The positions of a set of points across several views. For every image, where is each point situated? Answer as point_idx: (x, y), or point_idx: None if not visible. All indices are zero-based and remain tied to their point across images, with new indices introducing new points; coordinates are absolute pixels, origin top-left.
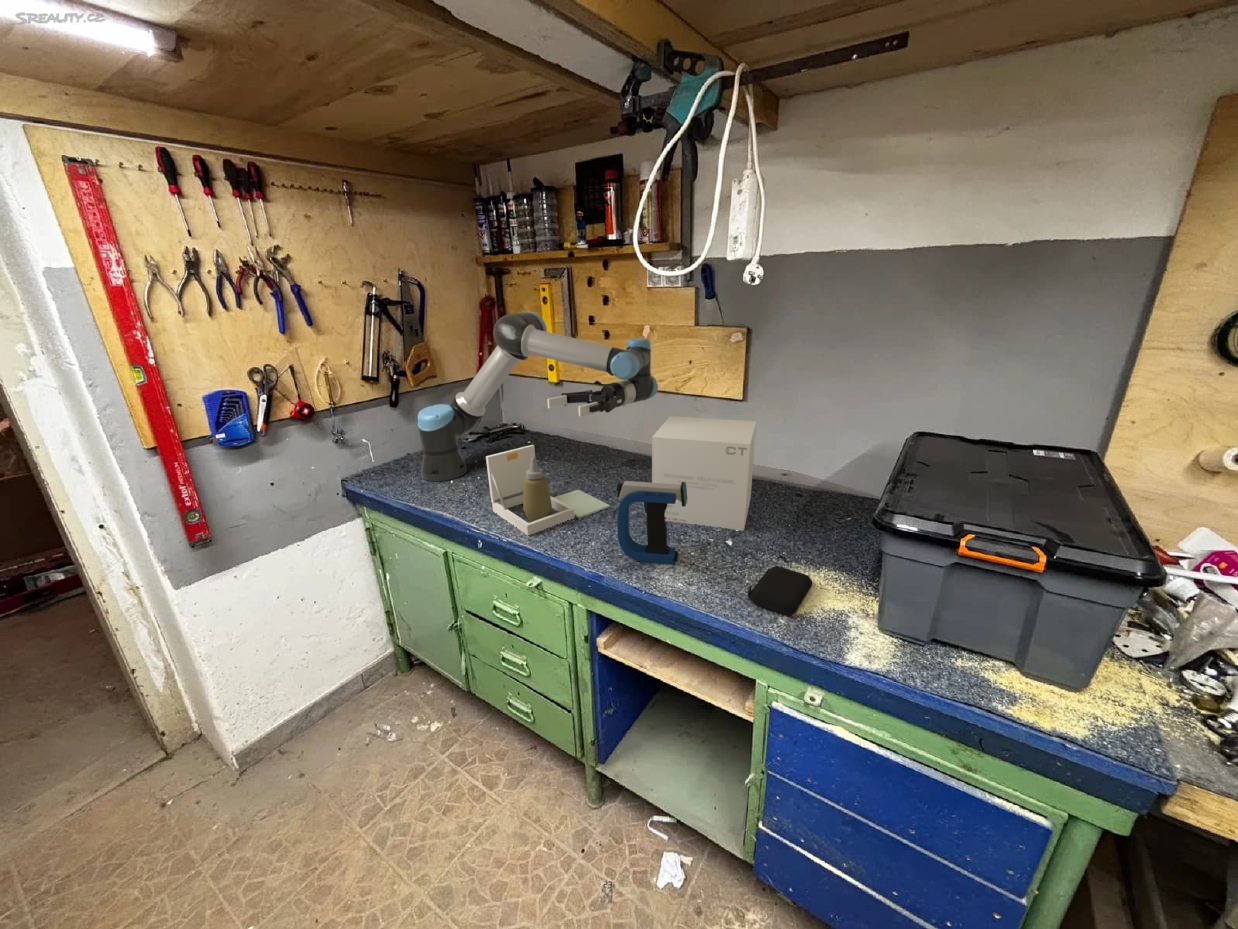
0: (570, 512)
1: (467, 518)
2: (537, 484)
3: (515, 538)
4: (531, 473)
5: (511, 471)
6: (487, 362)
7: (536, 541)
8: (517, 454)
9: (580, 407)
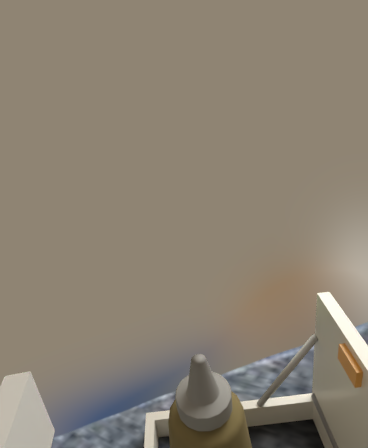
0: None
1: (303, 360)
2: (170, 407)
3: (159, 405)
4: (188, 378)
5: (344, 395)
6: None
7: (116, 435)
8: (356, 377)
9: (4, 384)
